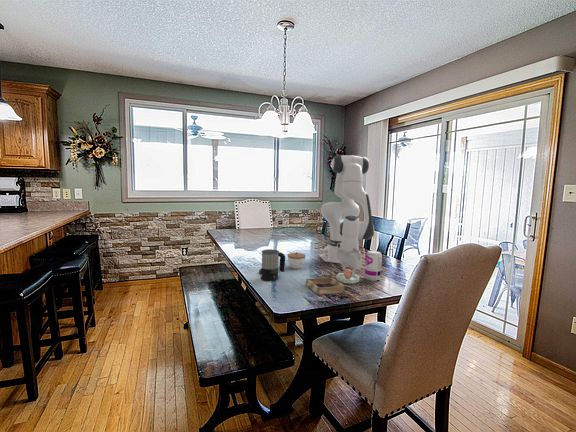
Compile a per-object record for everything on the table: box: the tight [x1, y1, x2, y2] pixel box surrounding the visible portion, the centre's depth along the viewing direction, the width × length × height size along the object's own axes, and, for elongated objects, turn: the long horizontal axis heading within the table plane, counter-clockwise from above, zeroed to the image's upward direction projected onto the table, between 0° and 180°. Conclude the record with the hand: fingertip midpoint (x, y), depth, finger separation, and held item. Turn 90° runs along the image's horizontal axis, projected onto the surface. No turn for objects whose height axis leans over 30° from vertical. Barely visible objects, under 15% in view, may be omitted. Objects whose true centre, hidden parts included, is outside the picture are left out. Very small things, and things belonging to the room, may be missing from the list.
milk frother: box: [258, 248, 286, 282], centre depth 160 cm, size 14×16×15 cm
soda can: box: [364, 250, 383, 282], centre depth 161 cm, size 8×8×15 cm
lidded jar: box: [287, 251, 306, 270], centre depth 179 cm, size 11×11×9 cm
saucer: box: [335, 272, 361, 285], centre depth 159 cm, size 12×12×2 cm
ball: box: [342, 268, 353, 279], centre depth 159 cm, size 5×5×5 cm
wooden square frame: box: [305, 276, 346, 296], centre depth 145 cm, size 14×14×3 cm
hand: (348, 272), depth 159 cm, fingers open, 8 cm apart
